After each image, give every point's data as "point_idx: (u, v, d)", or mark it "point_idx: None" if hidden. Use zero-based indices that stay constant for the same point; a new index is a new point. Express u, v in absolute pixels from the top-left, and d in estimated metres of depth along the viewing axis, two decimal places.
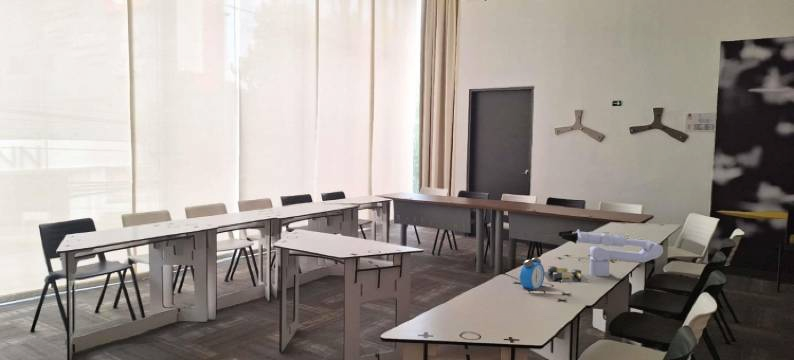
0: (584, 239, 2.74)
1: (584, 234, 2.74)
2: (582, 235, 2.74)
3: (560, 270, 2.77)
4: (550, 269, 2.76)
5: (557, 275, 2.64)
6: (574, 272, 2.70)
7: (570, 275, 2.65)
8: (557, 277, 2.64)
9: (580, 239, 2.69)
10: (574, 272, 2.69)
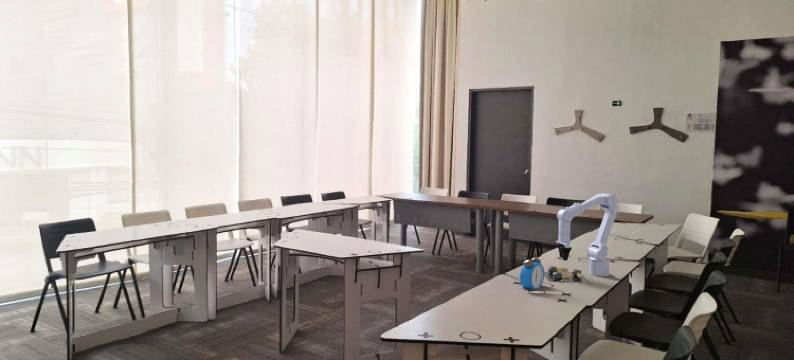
0: (566, 237, 2.68)
1: (561, 237, 2.69)
2: (562, 239, 2.69)
3: (560, 270, 2.77)
4: (550, 269, 2.76)
5: (557, 275, 2.64)
6: (574, 272, 2.70)
7: (570, 275, 2.65)
8: (557, 277, 2.64)
9: (567, 245, 2.64)
10: (574, 272, 2.69)
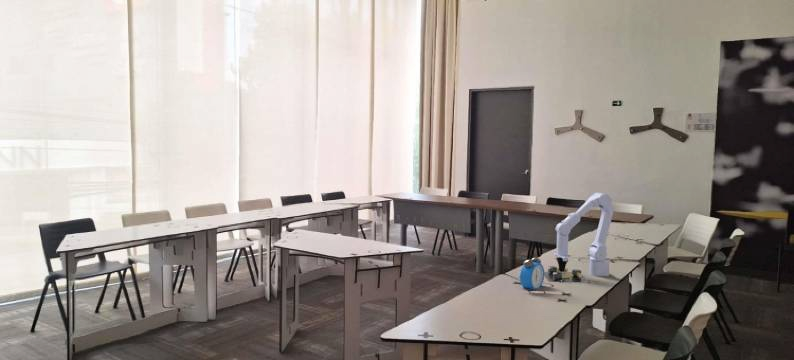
0: (564, 250, 2.73)
1: (559, 250, 2.73)
2: (560, 252, 2.73)
3: None
4: (550, 269, 2.76)
5: (557, 275, 2.64)
6: (574, 272, 2.70)
7: (570, 275, 2.65)
8: (557, 277, 2.64)
9: (565, 258, 2.68)
10: (574, 272, 2.69)
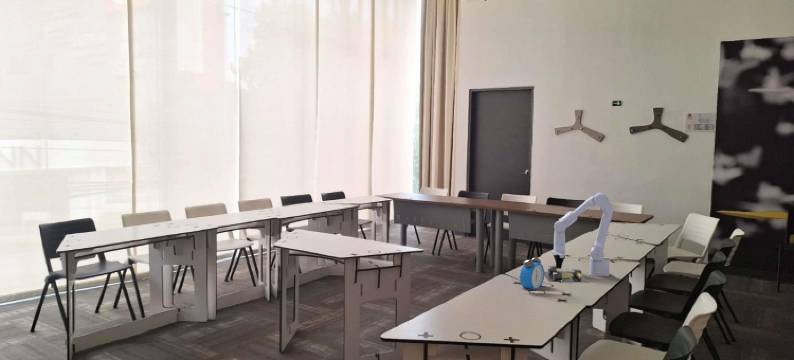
0: (561, 248, 2.80)
1: (556, 247, 2.81)
2: (557, 250, 2.80)
3: None
4: (555, 269, 2.76)
5: (557, 275, 2.64)
6: (574, 272, 2.70)
7: (570, 275, 2.65)
8: (557, 277, 2.64)
9: (562, 255, 2.76)
10: (574, 272, 2.69)
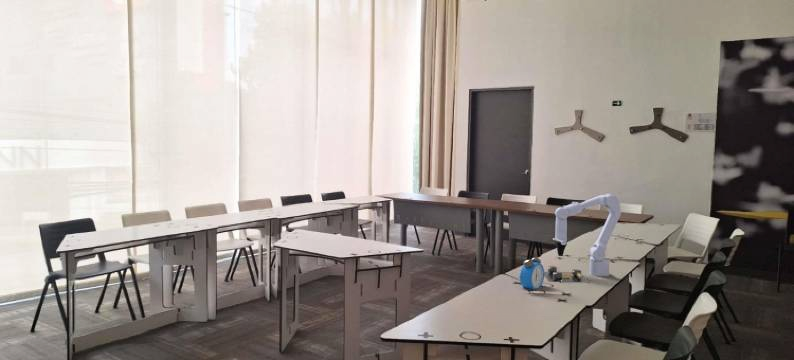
0: (563, 234, 2.76)
1: (558, 234, 2.77)
2: (559, 236, 2.76)
3: None
4: (555, 269, 2.76)
5: (557, 275, 2.64)
6: (574, 272, 2.70)
7: (570, 275, 2.65)
8: (557, 277, 2.64)
9: (563, 242, 2.72)
10: (574, 272, 2.69)
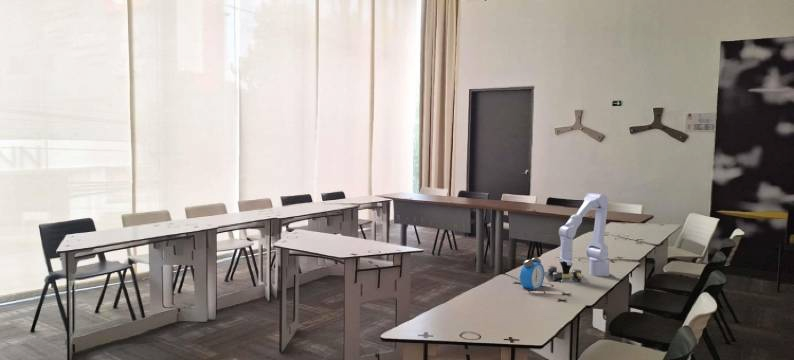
0: (568, 254, 2.63)
1: (563, 254, 2.64)
2: (564, 256, 2.64)
3: None
4: (555, 269, 2.76)
5: (557, 275, 2.64)
6: (574, 272, 2.70)
7: (570, 275, 2.65)
8: (557, 277, 2.64)
9: (569, 263, 2.59)
10: (574, 272, 2.69)
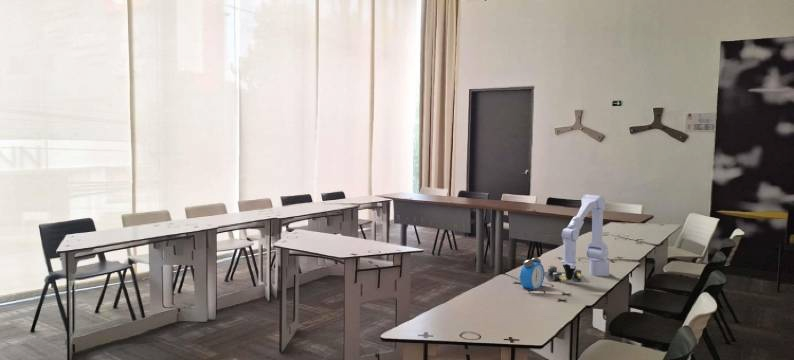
0: (572, 257, 2.57)
1: (566, 257, 2.58)
2: (567, 259, 2.58)
3: None
4: (555, 269, 2.76)
5: (553, 274, 2.66)
6: (574, 272, 2.70)
7: (563, 278, 2.60)
8: (553, 276, 2.66)
9: (573, 266, 2.53)
10: (574, 272, 2.69)
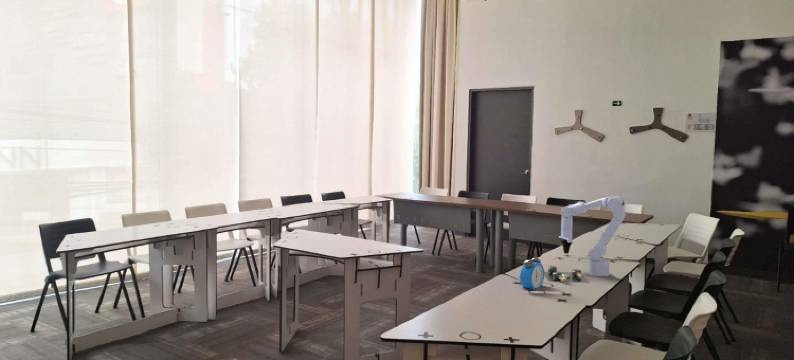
0: (569, 232, 2.82)
1: (563, 232, 2.83)
2: (565, 234, 2.83)
3: None
4: (555, 269, 2.76)
5: (553, 274, 2.66)
6: (574, 272, 2.70)
7: (562, 278, 2.60)
8: (553, 276, 2.66)
9: (569, 240, 2.78)
10: (574, 272, 2.69)
